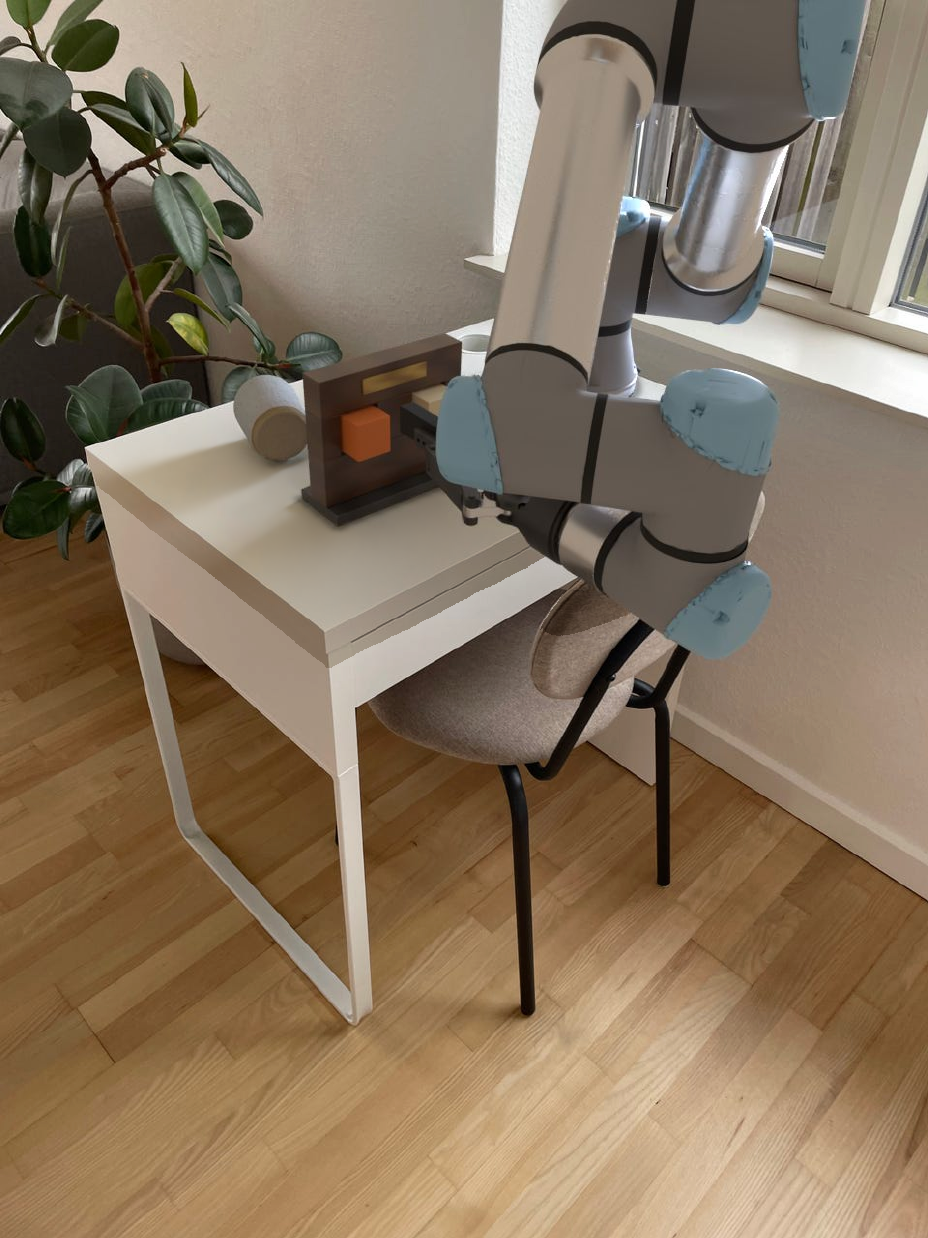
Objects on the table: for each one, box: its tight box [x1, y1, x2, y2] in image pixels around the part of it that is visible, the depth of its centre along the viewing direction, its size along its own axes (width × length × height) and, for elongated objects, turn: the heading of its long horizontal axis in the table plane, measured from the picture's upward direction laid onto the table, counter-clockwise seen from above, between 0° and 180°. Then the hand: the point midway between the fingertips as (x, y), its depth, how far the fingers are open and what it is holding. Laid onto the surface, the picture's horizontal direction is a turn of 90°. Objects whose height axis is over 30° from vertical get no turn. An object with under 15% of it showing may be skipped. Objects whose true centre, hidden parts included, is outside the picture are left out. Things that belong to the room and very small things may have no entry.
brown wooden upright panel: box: [300, 332, 463, 527], centre depth 99 cm, size 18×7×15 cm, turn 130°
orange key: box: [339, 404, 390, 462], centre depth 95 cm, size 4×4×4 cm
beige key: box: [411, 383, 446, 416], centre depth 100 cm, size 4×4×4 cm
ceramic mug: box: [232, 374, 308, 462], centre depth 108 cm, size 11×8×8 cm
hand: (406, 416), depth 88 cm, fingers closed
